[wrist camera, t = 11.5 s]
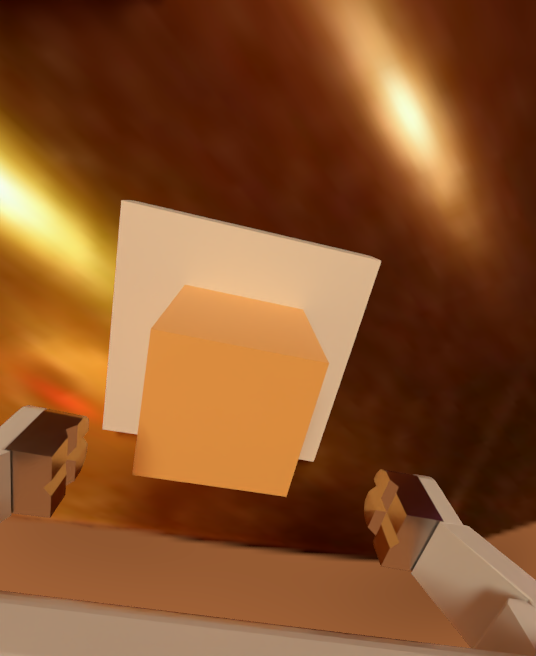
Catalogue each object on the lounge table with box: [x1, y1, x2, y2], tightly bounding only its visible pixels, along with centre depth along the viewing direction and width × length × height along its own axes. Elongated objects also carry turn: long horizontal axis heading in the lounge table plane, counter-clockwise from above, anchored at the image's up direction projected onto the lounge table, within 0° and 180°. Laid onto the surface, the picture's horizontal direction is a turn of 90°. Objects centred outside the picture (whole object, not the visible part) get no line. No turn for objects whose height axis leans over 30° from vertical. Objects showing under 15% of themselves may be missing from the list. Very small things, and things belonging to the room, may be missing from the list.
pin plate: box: [103, 200, 381, 462], centre depth 16 cm, size 12×12×6 cm
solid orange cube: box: [132, 285, 329, 497], centre depth 15 cm, size 6×6×6 cm
